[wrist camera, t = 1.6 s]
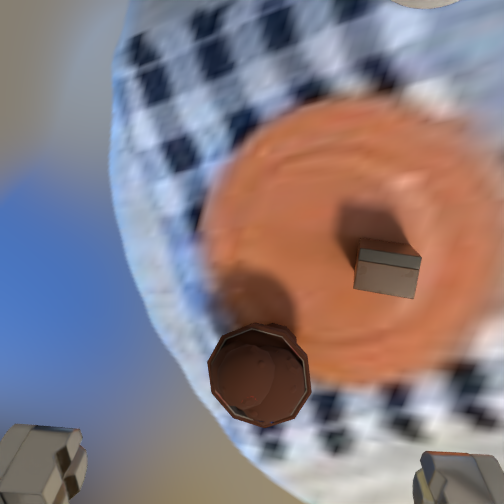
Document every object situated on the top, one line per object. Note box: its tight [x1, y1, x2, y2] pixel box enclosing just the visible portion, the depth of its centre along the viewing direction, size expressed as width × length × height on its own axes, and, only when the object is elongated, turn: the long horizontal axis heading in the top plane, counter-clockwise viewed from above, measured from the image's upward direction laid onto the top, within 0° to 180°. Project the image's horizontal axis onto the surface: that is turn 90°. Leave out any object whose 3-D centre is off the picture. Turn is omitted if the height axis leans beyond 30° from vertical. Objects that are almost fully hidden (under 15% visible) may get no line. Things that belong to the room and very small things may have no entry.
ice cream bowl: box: [207, 323, 312, 428], centre depth 45 cm, size 11×11×15 cm
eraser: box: [353, 238, 422, 299], centre depth 44 cm, size 4×6×9 cm
